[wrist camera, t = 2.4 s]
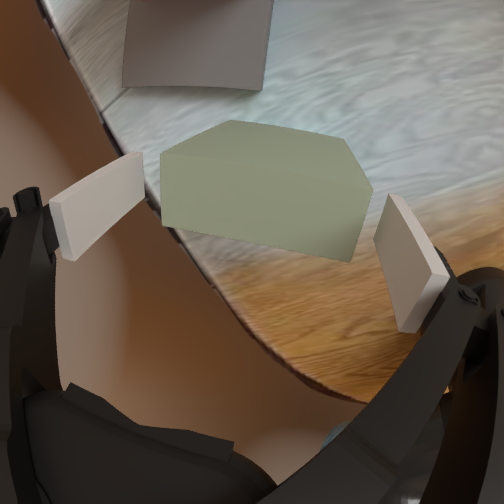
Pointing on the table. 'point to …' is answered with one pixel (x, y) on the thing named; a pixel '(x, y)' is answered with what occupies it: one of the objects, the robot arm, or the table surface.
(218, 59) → the book shelf
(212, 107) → the table surface
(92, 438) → the robot arm
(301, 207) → the loose book
